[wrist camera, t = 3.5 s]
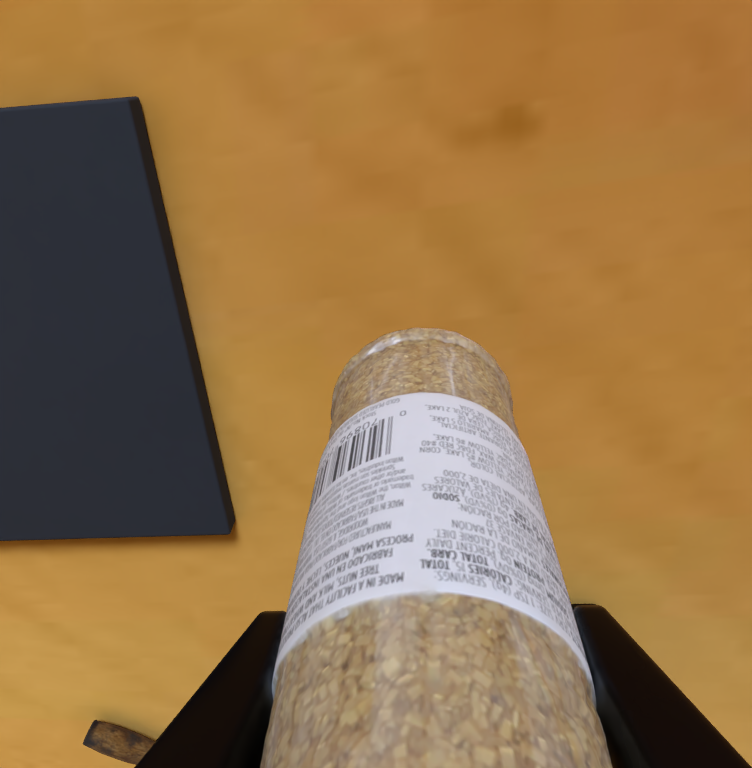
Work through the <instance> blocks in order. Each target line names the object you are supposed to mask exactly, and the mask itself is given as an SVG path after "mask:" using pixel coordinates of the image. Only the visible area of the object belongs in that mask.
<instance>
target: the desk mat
mask: <svg viewBox="0 0 752 768" xmlns="http://www.w3.org/2000/svg"><path fill="white" fill-rule="evenodd" d="M234 522H235V517H234V513H233V508H232V504H231V500H230V495H229V491H228V486H227V482H226V478H225V473H224V469H223V464H222V460H221V456H220V451H219V447H218V442H217V438H216V434H215V429H214V425H213V421H212V416H211V412H210V407H209V403H208V399H207V394H206V390H205V385H204V381H203V377H202V372H201V368H200V363H199V359H198V355H197V350H196V346H195V341H194V337H193V333H192V328H191V324H190V320H189V315H188V311H187V306H186V302H185V298H184V293H183V289H182V284H181V280H180V276H179V271H178V267H177V262H176V258H175V254H174V249H173V245H172V240H171V236H170V232H169V227H168V223H167V219H166V214H165V210H164V205H163V201H162V197H161V192H160V188H159V183H158V179H157V175H156V170H155V166H154V161H153V157H152V153H151V148H150V144H149V139H148V135H147V131H146V126H145V122H144V118H143V113H142V109H141V104H140V100H139V98H138V97H136V96H135V97H124V98H112V99H100V100H88V101H77V102H65V103H53V104H42V105H30V106H18V107H6V108H0V541H13V540H48V539H84V538H120V537H155V536H191V535H227V534H230V533H231V530H232V528H233V525H234Z"/></svg>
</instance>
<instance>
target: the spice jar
mask: <svg viewBox="0 0 752 768" xmlns="http://www.w3.org/2000/svg"><path fill="white" fill-rule="evenodd" d="M331 420H332V424H331V429H330V435H329V442H328V444H327V446H326V448H325V450H324V452H323V455H322V457H321V459H320V463H319V467H318V472H317V476H316V480H315V485H314V490H313V494H312V499H311V504H310V508H309V512H308V517H307V521H306V526H305V530H304V534H303V539H302V543H301V548H300V552H299V557H298V561H297V566H296V571H295V575H294V580H293V585H292V589H291V594H290V599H289V603H288V608H287V613H286V617H285V622H284V627H283V631H282V636H281V641H280V645H279V650H278V655H277V659H276V664H275V668H274V674H273V680H272V694H273V700H274V701H273V706H272V710H271V715H270V720H269V727H268V730H267V734H266V738H265V742H264V749H263V755H262V760H261V765H260V768H613V767H612V764H611V760H610V756H609V752H608V748H607V743H606V737H605V734H604V731H603V727H602V724H601V721H600V718H599V716H598V714H597V711H596V695H595V690H594V685H593V681H592V676H591V672H590V669H589V666H588V662H587V659H586V655H585V652H584V648H583V645H582V642H581V638H580V635H579V631H578V628H577V624H576V620H575V617H574V613H573V610H572V606H571V603H570V600H569V596H568V593H567V589H566V586H565V582H564V579H563V575H562V572H561V568H560V565H559V561H558V558H557V554H556V551H555V547H554V544H553V540H552V537H551V533H550V530H549V526H548V523H547V520H546V516H545V513H544V509H543V506H542V503H541V499H540V496H539V492H538V489H537V485H536V482H535V479H534V476H533V472H532V469H531V466H530V462H529V459H528V456H527V454H526V452H525V449H524V447H523V446H522V444H521V441H520V439H519V435H518V430H517V427H516V425H515V423H514V417H513V401H512V397H511V391H510V385H509V382H508V379H507V376H506V375H505V374H504V372H503V371H502V370H501V368H500V367H499V365H498V364H497V362H496V360H495V359H494V358H493V357H492V356H491V355H490V354H489V353H487V352H486V351H485V350H484V349H483V348H482V347H481V346H480V345H479V344H477V343H476V342H474V341H472V340H470V339H468V338H466V337H464V336H462V335H460V334H459V333H457V332H451V331H447V330H443V329H438V328H410V329H407V330H399V331H395V332H392V333H388V334H385V335H383V336H381V337H380V338H378V339H376V340H375V341H373V342H371V343H369V344H368V345H366V346H365V347H364V348H363V349H362V350H361V351H360V352H359V353H358V354H357V355H355V356H353V357H352V358H351V359H350V360H349V362H348V363H347V364H346V366H345V367H344V369H343V371H342V373H341V375H340V376H339V379H338V381H337V383H336V386H335V388H334V392H333V399H332V409H331Z"/></svg>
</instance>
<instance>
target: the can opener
mask: <svg viewBox="0 0 752 768" xmlns="http://www.w3.org/2000/svg"><path fill="white" fill-rule="evenodd" d="M154 743H155V741H153V740H151V739H149V738H147V737H145V736H143V735H141V734H138V733H136V732H133V731H130V730H128V729H125V728H122V727H119V726H117V725H113V724H109V723H105V722H101V721H97V720H94V722H93V723H92V725H91V727H90V729H89V731H88V733H87V735H86V737H85V739H84V742H83V744H84V745H85V746H87V747H89V748H91V749H93V750H95V751H97V752H99V753H102V754H104V755H107V756H110V757H113V758H115V759H118V760H121V761H124V762H127V763H131V764H136V765H137V764H138V763H139V761H140V760H141V759H142V758H143V756H144V755H145V754H146V753H147V751H148V750H149V749H150V748H151V747H152V745H153V744H154Z"/></svg>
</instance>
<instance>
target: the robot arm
mask: <svg viewBox="0 0 752 768" xmlns="http://www.w3.org/2000/svg"><path fill="white" fill-rule="evenodd" d="M571 606H572V610H573V613H574V617H575V620H576V624H577V628H578V631H579V635H580V638H581V642H582V645H583V648H584V652H585V655H586V659H587V662H588V666H589V669H590V672H591V676H592V681H593V685H594V690H595V695H596V711H597V714H598V716H599V718H600V721H601V724H602V727H603V731H604V734H605V737H606V743H607V748H608V752H609V756H610V760H611V764H612V767H613V768H752V767H751V766H750V765H749V764H748V763H747V762H746V761H745V760H744V759H743V757H742V756H741V755H740V754H739V753H738V752H737V751H736V750H735V749H734V748H733V747H732V746H731V744H730V743H729V742H728V741H727V740H726V739H725V738H724V737H723V736H722V735H721V734H720V733H719V731H718V730H717V729H716V728H715V727H714V726H713V725H712V724H711V723H710V722H709V721H708V720H707V718H706V717H705V716H704V715H703V714H702V713H701V712H700V711H699V710H698V709H697V708H696V707H695V706H694V704H693V703H692V702H691V701H690V700H689V699H688V698H687V697H686V696H685V695H684V694H683V693H682V691H681V690H680V689H679V688H678V687H677V686H676V685H675V684H674V683H673V682H672V681H671V680H670V678H669V677H668V676H667V675H666V674H665V673H664V672H663V671H662V670H661V669H660V668H659V667H658V665H657V664H656V663H655V662H654V661H653V660H652V659H651V658H650V657H649V656H648V655H647V654H646V652H645V651H644V650H643V649H642V648H641V647H640V646H639V645H638V644H637V643H636V642H635V641H634V639H633V638H632V637H631V636H630V635H629V634H628V633H627V632H626V631H625V630H624V629H623V628H622V626H621V625H620V624H619V623H618V622H617V621H616V620H615V619H614V618H613V617H612V616H611V615H610V614H609V612H608V611H607V610H606V609H605V608H603V607H602V606H599V605H595V604H571ZM285 617H286V612H285V611H264V612H262V613H260V614H259V615H258V616H257V617H256V618H255V620H254V621H253V622H252V623H251V625H250V626H249V627H248V628H247V630H246V631H245V632H244V633H243V634H242V636H241V637H240V638H239V639H238V641H237V642H236V643H235V644H234V646H233V647H232V648H231V649H230V650H229V652H228V653H227V654H226V655H225V657H224V658H223V659H222V660H221V662H220V663H219V664H218V665H217V666H216V668H215V669H214V670H213V671H212V673H211V674H210V675H209V676H208V678H207V679H206V680H205V681H204V682H203V684H202V685H201V686H200V687H199V689H198V690H197V691H196V692H195V694H194V695H193V696H192V697H191V698H190V700H189V701H188V702H187V703H186V705H185V706H184V707H183V708H182V710H181V711H180V712H179V713H178V714H177V716H176V717H175V718H174V719H173V721H172V722H171V723H170V724H169V726H168V727H167V728H166V729H165V730H164V732H163V733H162V734H161V735H160V737H159V738H158V739H157V740H156V742H155V743H154V744H153V745H152V747H151V748H150V749H149V750H148V751H147V753H146V754H145V755H144V756H143V758H142V759H141V760H140V761H139V763H138V764H137V765H136V766H135V767H134V768H260V765H261V760H262V755H263V749H264V742H265V738H266V734H267V730H268V727H269V720H270V715H271V710H272V706H273V701H274V700H273V694H272V680H273V674H274V668H275V664H276V659H277V655H278V650H279V645H280V641H281V636H282V631H283V627H284V622H285Z"/></svg>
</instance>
